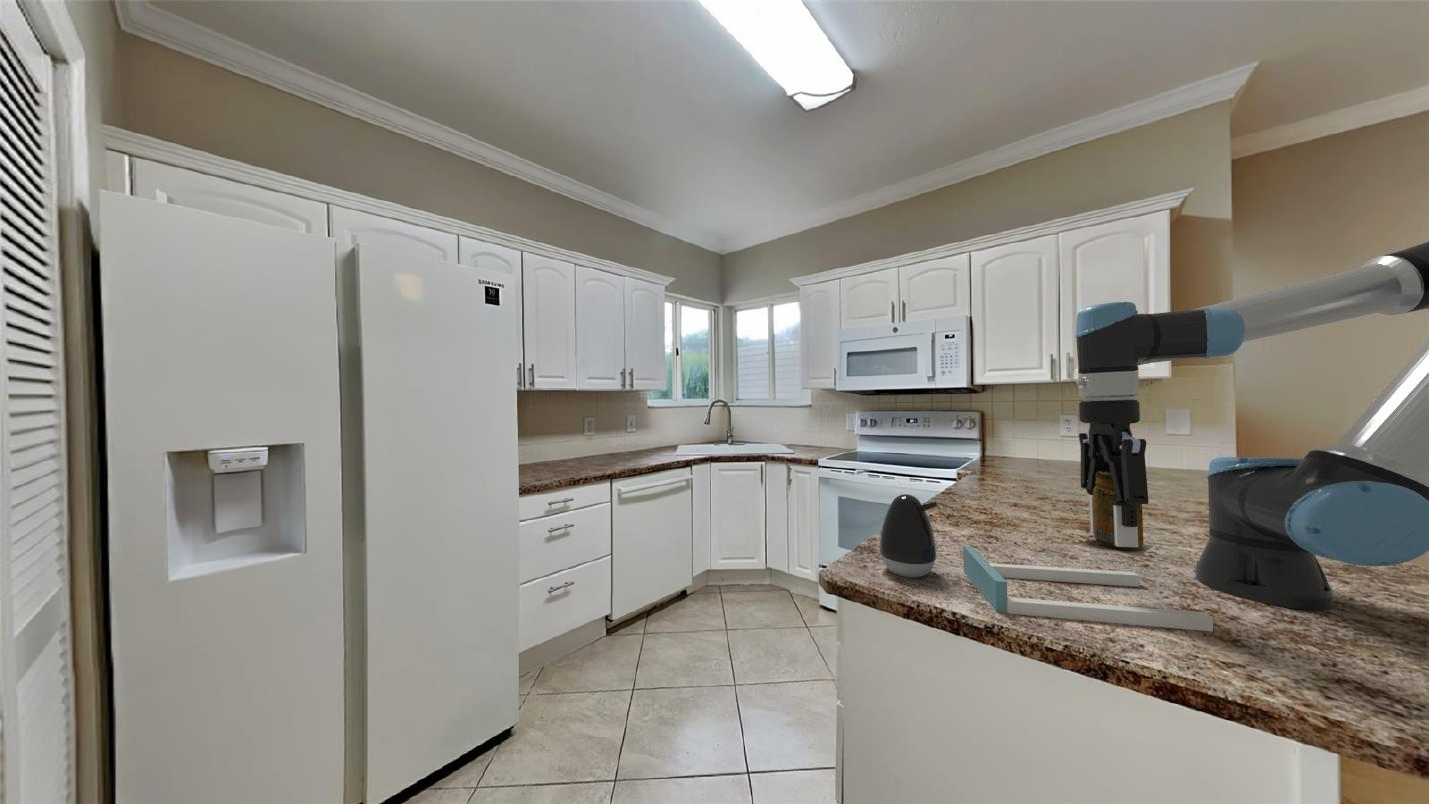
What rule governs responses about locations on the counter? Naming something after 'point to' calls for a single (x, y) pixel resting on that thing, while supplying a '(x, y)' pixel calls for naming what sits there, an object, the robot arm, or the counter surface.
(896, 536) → the pump dispenser
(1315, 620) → the counter surface
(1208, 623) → the guide
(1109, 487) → the condiment
